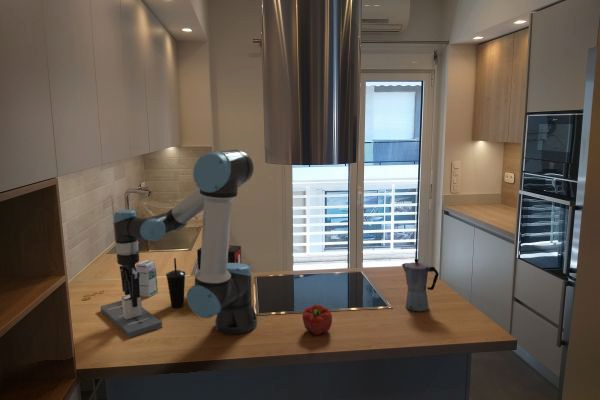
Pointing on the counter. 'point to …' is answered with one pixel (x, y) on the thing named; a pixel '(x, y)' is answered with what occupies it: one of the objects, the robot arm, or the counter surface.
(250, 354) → the counter surface
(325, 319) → the vegetable
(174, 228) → the robot arm
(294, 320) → the counter surface
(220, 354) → the counter surface
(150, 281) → the syrup box
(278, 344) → the counter surface
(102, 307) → the fader console
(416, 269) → the moka pot
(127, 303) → the fader knob
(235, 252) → the cleaning product box
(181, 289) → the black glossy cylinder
